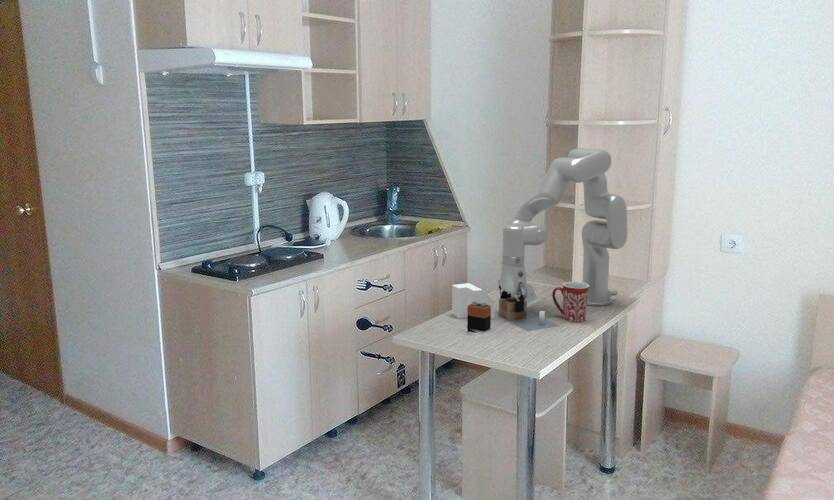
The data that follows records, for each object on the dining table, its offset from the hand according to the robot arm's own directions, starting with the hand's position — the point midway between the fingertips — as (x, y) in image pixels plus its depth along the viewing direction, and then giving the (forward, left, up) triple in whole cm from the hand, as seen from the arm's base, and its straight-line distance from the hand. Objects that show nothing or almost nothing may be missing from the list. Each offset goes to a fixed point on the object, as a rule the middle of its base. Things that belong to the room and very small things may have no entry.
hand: (511, 308), depth 237 cm
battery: (+17, +6, -5) cm, 18 cm away
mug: (-17, +10, -5) cm, 21 cm away
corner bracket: (+12, -7, -5) cm, 14 cm away
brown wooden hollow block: (0, 0, -3) cm, 3 cm away
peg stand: (-2, +6, -4) cm, 8 cm away
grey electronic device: (-12, -11, -5) cm, 17 cm away
